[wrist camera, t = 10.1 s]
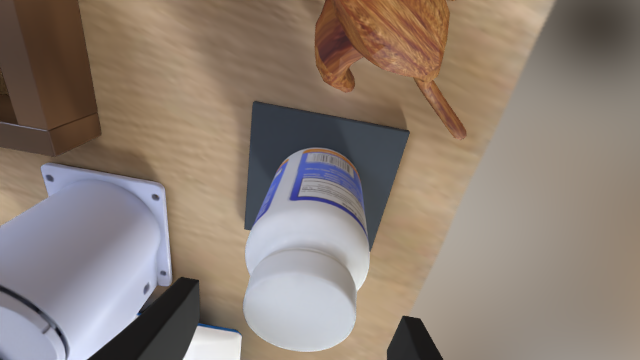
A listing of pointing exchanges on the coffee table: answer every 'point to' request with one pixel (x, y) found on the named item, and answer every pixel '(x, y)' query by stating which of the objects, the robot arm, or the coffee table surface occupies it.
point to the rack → (45, 78)
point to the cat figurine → (387, 45)
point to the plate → (213, 343)
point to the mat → (323, 132)
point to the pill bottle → (307, 253)
